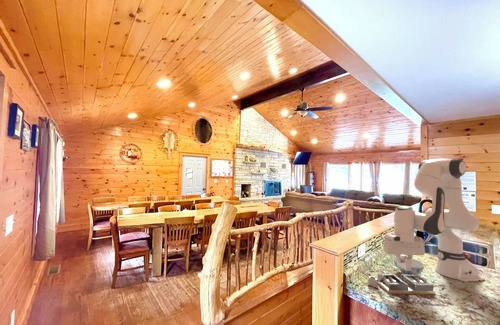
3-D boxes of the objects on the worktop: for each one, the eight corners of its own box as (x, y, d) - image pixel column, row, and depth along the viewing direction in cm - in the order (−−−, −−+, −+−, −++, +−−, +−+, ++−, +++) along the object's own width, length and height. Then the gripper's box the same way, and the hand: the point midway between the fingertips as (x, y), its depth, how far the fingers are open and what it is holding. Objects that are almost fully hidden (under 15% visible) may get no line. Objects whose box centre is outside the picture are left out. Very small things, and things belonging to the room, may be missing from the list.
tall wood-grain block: (402, 264, 117) (402, 253, 118) (411, 270, 110) (411, 258, 111) (396, 264, 117) (396, 253, 118) (406, 270, 110) (406, 258, 111)
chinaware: (387, 270, 133) (387, 258, 133) (403, 267, 138) (403, 255, 138) (413, 283, 119) (413, 269, 119) (430, 278, 124) (430, 265, 124)
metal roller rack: (419, 283, 119) (419, 274, 119) (435, 294, 108) (435, 285, 108) (376, 281, 119) (376, 273, 119) (388, 292, 109) (388, 284, 109)
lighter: (368, 285, 116) (368, 270, 116) (369, 283, 117) (369, 269, 117) (383, 290, 111) (383, 275, 111) (384, 289, 112) (384, 273, 112)
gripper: (418, 235, 118) (418, 260, 117) (381, 234, 118) (381, 259, 117) (428, 239, 111) (428, 265, 111) (388, 237, 112) (388, 264, 111)
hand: (403, 262), depth 114 cm, fingers closed on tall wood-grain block, 3 cm apart
